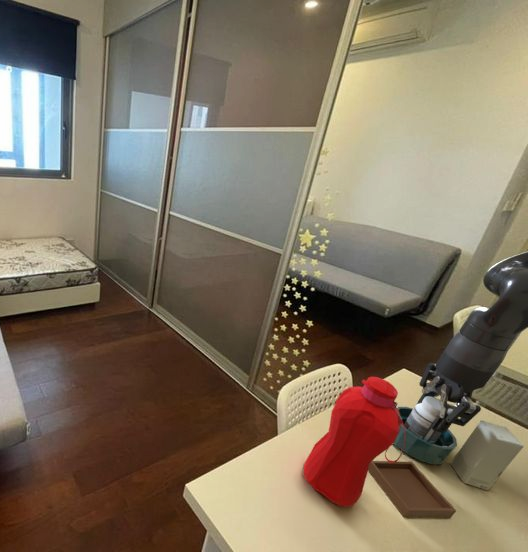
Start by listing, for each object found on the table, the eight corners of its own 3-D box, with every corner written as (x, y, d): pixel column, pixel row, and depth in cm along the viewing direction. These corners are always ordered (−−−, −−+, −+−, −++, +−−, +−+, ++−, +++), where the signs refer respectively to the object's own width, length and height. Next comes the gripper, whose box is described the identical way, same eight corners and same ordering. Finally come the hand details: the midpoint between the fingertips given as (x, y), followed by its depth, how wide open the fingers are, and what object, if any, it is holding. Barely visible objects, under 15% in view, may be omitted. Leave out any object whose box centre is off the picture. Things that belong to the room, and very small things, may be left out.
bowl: (427, 432, 77) (439, 415, 75) (455, 474, 67) (469, 456, 65) (375, 417, 80) (385, 400, 78) (394, 455, 70) (406, 437, 68)
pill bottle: (424, 430, 75) (445, 398, 71) (438, 451, 70) (462, 418, 66) (396, 422, 76) (416, 391, 72) (408, 442, 71) (431, 410, 67)
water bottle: (361, 526, 56) (432, 424, 45) (296, 479, 62) (345, 381, 52) (370, 490, 62) (434, 393, 52) (310, 451, 69) (357, 358, 58)
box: (488, 491, 64) (527, 448, 59) (462, 483, 66) (498, 439, 60) (472, 468, 69) (507, 426, 64) (447, 461, 70) (480, 418, 65)
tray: (406, 468, 67) (411, 461, 67) (450, 517, 59) (456, 510, 58) (365, 467, 66) (369, 460, 66) (403, 517, 58) (409, 510, 57)
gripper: (521, 387, 56) (469, 452, 63) (470, 343, 69) (431, 401, 76) (470, 375, 58) (425, 439, 65) (429, 334, 71) (395, 391, 78)
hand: (428, 418), depth 70 cm, fingers closed on pill bottle, 5 cm apart
